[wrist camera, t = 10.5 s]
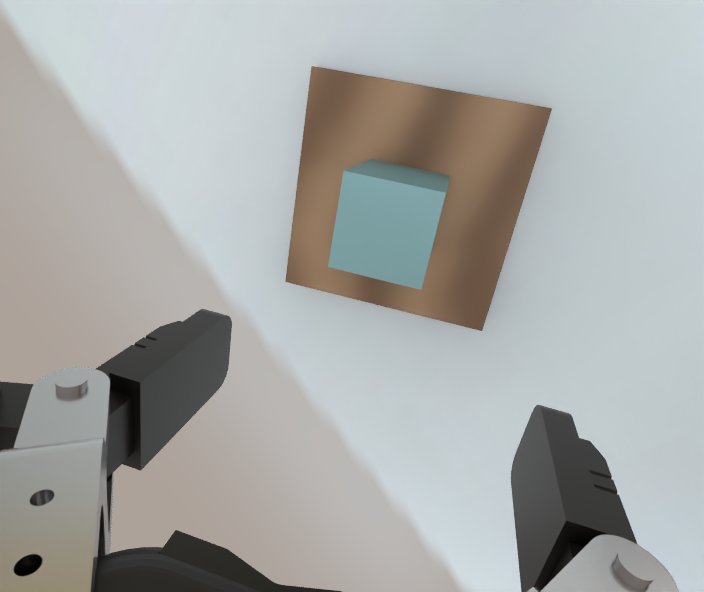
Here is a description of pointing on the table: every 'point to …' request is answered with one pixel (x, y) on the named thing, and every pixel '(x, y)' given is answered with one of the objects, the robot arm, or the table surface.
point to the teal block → (387, 221)
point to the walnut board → (426, 154)
